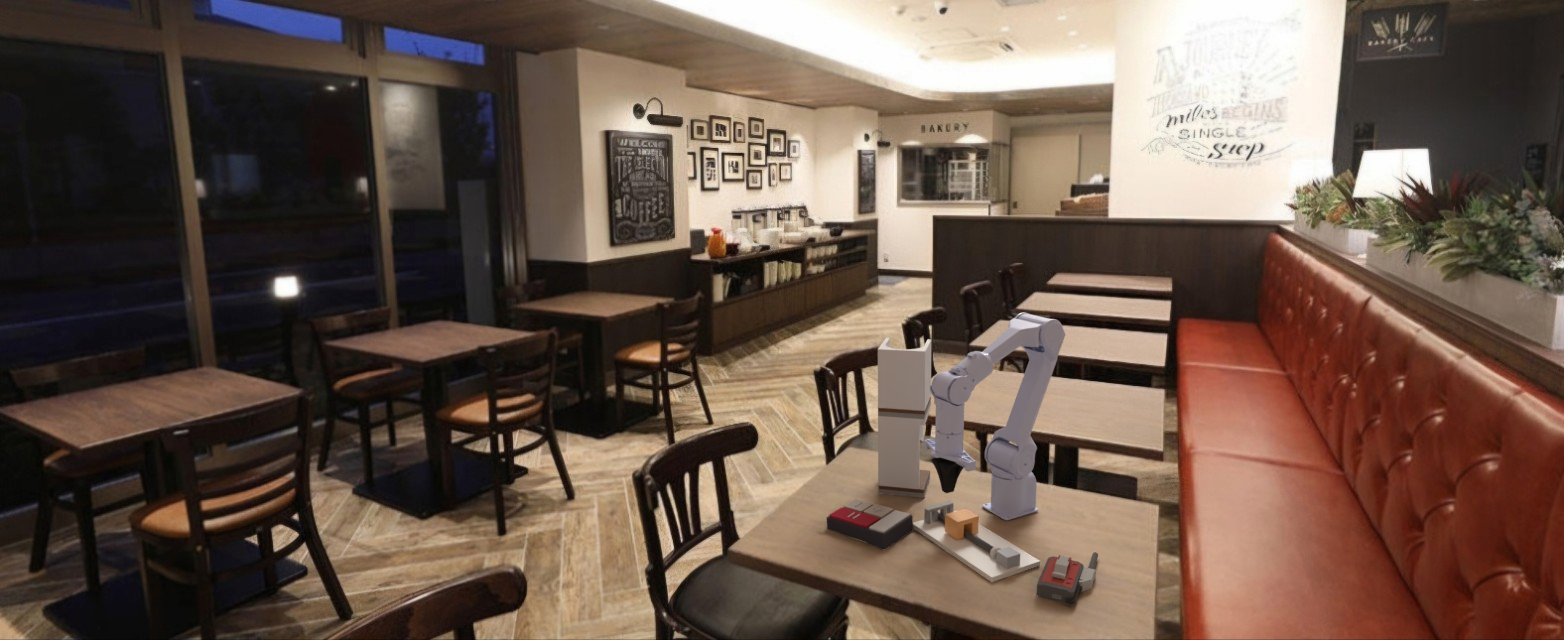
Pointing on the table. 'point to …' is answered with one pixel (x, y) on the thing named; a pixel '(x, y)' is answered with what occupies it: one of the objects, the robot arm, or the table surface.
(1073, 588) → the walkie-talkie
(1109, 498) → the table surface
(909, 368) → the white box tower
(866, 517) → the calculator
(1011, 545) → the board
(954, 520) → the orange block
